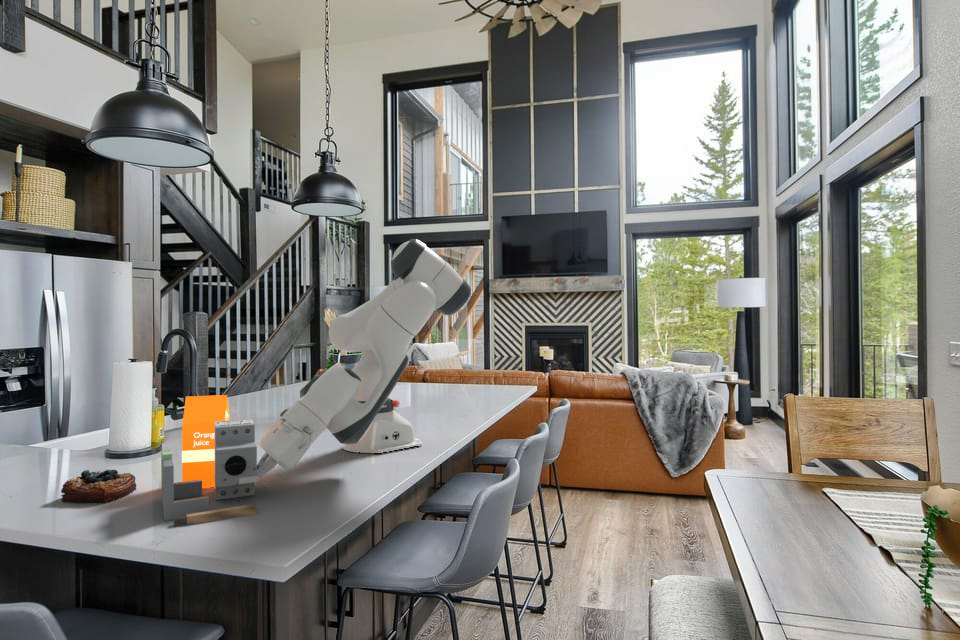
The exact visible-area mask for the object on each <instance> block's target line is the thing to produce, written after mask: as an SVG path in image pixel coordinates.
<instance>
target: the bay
mask: <svg viewBox="0 0 960 640" xmlns="http://www.w3.org/2000/svg"><path fill="white" fill-rule="evenodd" d="M160 454H161V456H160V457H161V459H160V461H161V465H160V466H161V473H160V474H161V476H160V477H161V483H160V484H161V503H162V504H161V505H162V506H161V507H162V512H163V513H162V514H163V518H164V522H166V521H171V520H173V521H174V518H175V517H181V516H186V514H192V513H198V512H205V511H210V496H209V495H206V496H205V495H204V496H203V488H202V479H200V480H192V481H185V482H182V481H179V482H174V481H175V479H174V477H175V476H174V475H175V473H174V470H175V469H174V462H173V452H172V451H171V450H170V449H167V450H161V453H160ZM199 496H200V497H199ZM192 497H193V498H192ZM176 499H177V500H176Z"/></svg>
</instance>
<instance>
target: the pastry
mask: <svg viewBox="0 0 960 640" xmlns="http://www.w3.org/2000/svg"><path fill="white" fill-rule="evenodd" d="M134 490H135V491H136V490H137V484H136V476H135V475H134V474H132V473H130V472H124V473H123V472H122V473H119V472H118V470H117V469H106V470H103V471H102V470H98V471H97V470H95V471H90V469H85V470H83V471H82V472H81V474H80V476H77V477H76V478H71V479H69V480H66V481H65V482H64V483H63V484H62V488H61V490H60V493H61V495H60V497H62V498H61V499H60V500H61V502H63V503H68V502H69V503H71V504H86V503H90V504H92V503H97V504H99V503H101V504H107V502H108V503H111V502H110V501H112V502H113V500H115V501H117V499H118V500H120V499H123V498H125V497H127V496H129V495H130V493H131V494H132V493H133V492H134ZM124 496H125V497H124ZM122 497H123V498H122ZM119 498H120V499H119ZM69 503H68V504H69Z"/></svg>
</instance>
